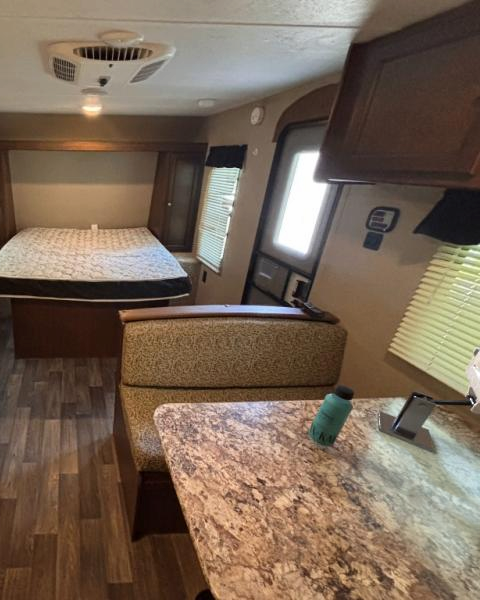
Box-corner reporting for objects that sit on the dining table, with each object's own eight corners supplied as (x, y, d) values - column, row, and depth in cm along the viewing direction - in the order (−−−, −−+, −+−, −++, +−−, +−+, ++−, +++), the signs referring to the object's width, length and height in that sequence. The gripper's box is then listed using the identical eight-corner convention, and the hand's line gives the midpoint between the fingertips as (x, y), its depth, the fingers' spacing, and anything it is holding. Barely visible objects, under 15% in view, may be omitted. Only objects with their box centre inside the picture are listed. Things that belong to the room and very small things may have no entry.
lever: (475, 402, 89) (473, 394, 89) (480, 412, 85) (478, 404, 85) (414, 401, 97) (412, 393, 97) (416, 409, 94) (414, 402, 93)
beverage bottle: (309, 429, 98) (334, 377, 90) (335, 443, 93) (363, 390, 85) (302, 440, 94) (327, 386, 86) (328, 455, 89) (357, 400, 81)
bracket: (427, 432, 99) (450, 398, 94) (431, 452, 92) (457, 416, 87) (377, 413, 106) (396, 380, 101) (378, 430, 99) (398, 396, 93)
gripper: (536, 389, 73) (500, 433, 79) (507, 354, 87) (479, 393, 93) (494, 377, 76) (463, 420, 82) (474, 345, 91) (448, 383, 97)
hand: (471, 405), depth 88 cm, fingers closed on lever, 5 cm apart
